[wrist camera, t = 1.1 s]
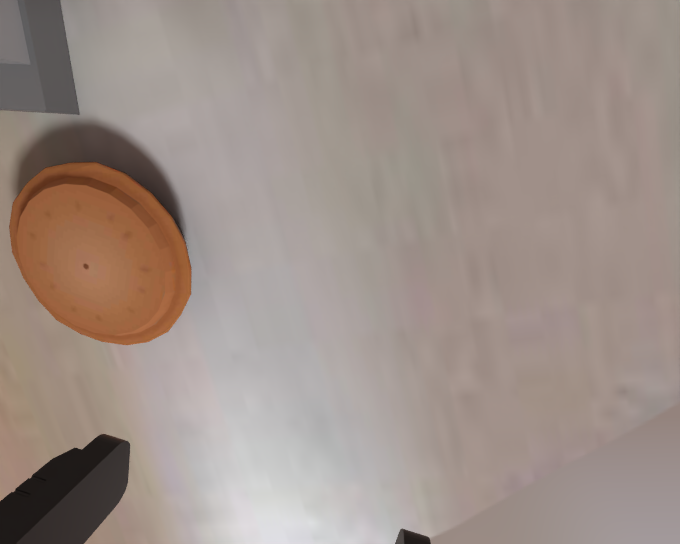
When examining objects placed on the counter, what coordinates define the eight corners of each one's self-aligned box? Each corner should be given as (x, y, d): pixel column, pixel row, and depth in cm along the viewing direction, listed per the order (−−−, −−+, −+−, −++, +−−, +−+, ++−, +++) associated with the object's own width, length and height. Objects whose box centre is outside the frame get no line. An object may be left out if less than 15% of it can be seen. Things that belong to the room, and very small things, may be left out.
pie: (244, 283, 33) (220, 307, 28) (123, 348, 37) (84, 378, 32) (137, 122, 29) (88, 118, 24) (15, 214, 33) (-46, 226, 29)
